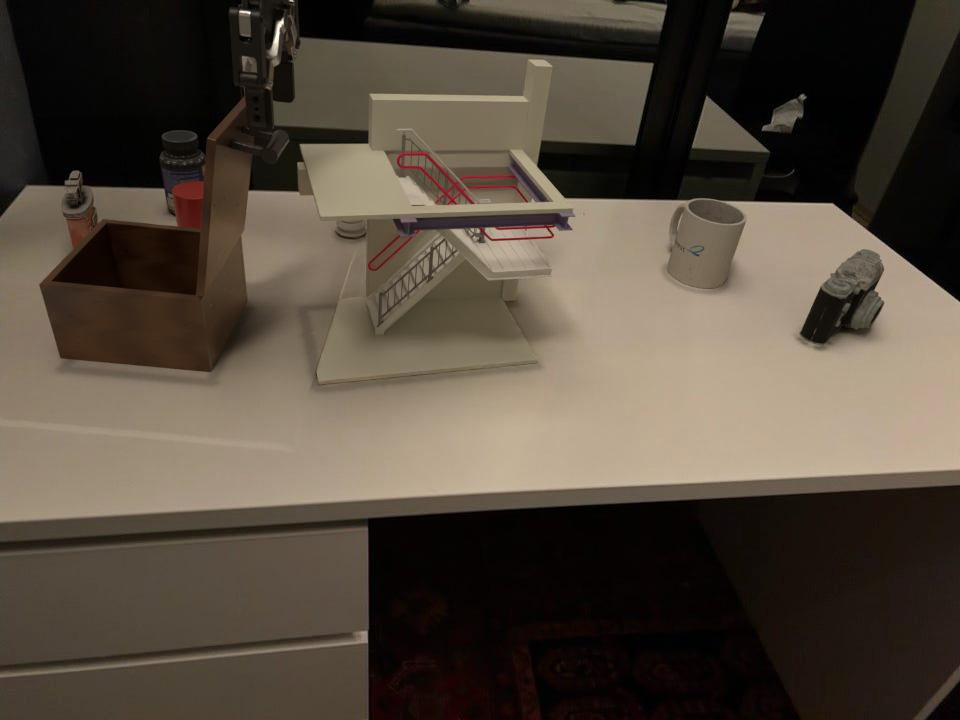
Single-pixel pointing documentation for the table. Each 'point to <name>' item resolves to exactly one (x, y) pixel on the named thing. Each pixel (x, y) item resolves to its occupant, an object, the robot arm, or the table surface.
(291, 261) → the table surface
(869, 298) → the camera
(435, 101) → the staircase
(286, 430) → the table surface
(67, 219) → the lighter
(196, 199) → the can
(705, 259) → the mug
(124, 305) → the chest
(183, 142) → the pill bottle
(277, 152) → the lid
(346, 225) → the rook chess piece
